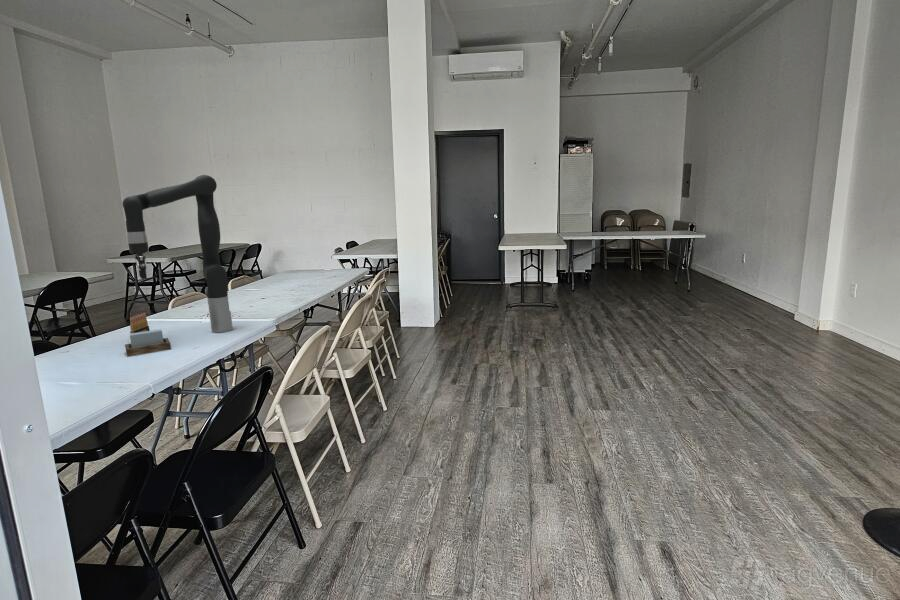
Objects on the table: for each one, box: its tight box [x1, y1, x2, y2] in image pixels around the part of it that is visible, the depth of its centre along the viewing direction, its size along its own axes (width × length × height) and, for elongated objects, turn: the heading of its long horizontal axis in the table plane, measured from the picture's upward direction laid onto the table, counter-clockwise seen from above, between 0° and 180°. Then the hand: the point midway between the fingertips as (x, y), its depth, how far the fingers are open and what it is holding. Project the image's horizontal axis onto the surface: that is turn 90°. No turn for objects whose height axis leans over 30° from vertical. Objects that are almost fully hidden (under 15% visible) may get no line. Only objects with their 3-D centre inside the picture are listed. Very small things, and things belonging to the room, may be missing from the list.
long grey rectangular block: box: [129, 328, 164, 348], centre depth 221 cm, size 12×4×7 cm, turn 124°
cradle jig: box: [124, 337, 172, 357], centre depth 222 cm, size 16×9×3 cm, turn 125°
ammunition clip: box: [129, 312, 151, 334], centre depth 241 cm, size 11×2×12 cm, turn 174°
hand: (143, 277), depth 230 cm, fingers open, 8 cm apart
